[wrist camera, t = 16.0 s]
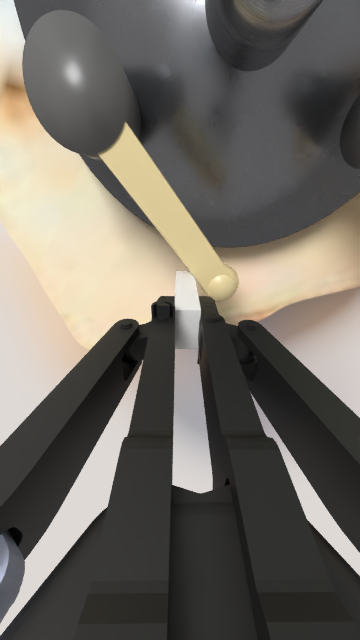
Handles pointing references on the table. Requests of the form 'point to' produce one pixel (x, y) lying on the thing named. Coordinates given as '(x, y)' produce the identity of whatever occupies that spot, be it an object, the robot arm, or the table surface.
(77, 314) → the table surface
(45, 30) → the knob
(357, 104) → the knob
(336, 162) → the level base
